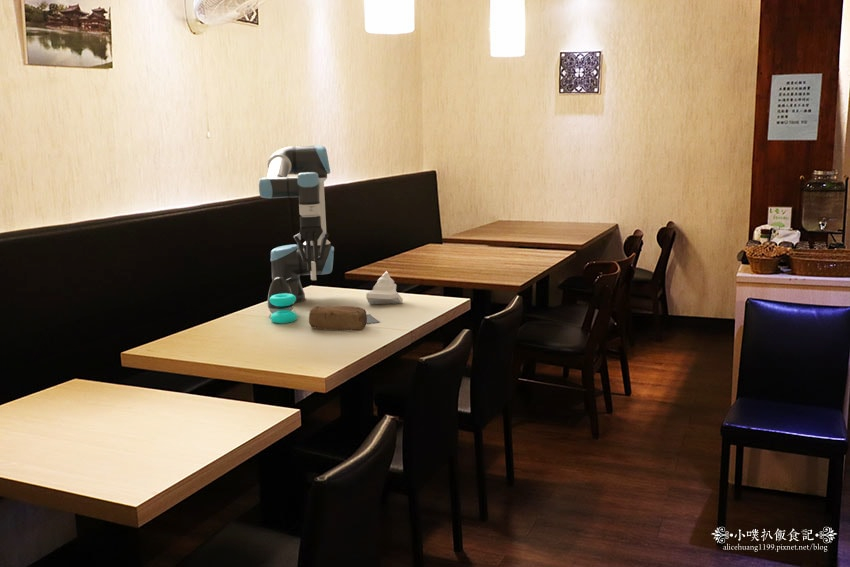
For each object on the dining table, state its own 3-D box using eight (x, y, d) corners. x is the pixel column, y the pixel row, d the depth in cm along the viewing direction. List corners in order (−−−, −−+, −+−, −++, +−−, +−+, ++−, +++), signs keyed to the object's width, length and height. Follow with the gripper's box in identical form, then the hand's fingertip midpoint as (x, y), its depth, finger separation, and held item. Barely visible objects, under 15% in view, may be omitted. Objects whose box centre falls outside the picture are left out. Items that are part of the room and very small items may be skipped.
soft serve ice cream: (366, 305, 332) (367, 271, 333) (401, 306, 333) (403, 273, 334) (366, 303, 320) (367, 268, 321) (403, 305, 321) (404, 270, 322)
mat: (316, 320, 301) (316, 319, 301) (369, 314, 308) (369, 314, 308) (324, 328, 288) (324, 328, 288) (380, 322, 295) (380, 321, 295)
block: (307, 329, 286) (361, 332, 283) (307, 309, 284) (361, 312, 281) (316, 322, 296) (368, 325, 293) (316, 302, 294) (368, 305, 292)
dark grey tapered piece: (298, 315, 310) (295, 277, 307) (272, 318, 306) (269, 280, 303) (290, 310, 319) (288, 273, 316) (265, 313, 315) (262, 276, 312)
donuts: (300, 295, 299) (278, 299, 293) (302, 320, 301) (279, 325, 295) (286, 291, 307) (264, 295, 300) (288, 316, 309) (265, 321, 302)
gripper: (294, 217, 280) (298, 282, 285) (330, 215, 285) (333, 279, 290) (290, 215, 287) (294, 279, 292) (325, 213, 292) (328, 276, 296)
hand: (313, 279), depth 291 cm, fingers closed
